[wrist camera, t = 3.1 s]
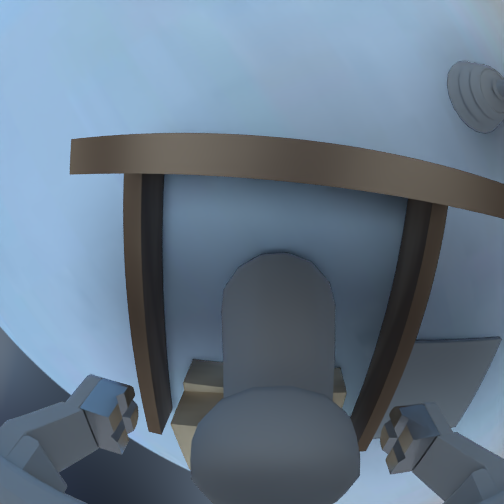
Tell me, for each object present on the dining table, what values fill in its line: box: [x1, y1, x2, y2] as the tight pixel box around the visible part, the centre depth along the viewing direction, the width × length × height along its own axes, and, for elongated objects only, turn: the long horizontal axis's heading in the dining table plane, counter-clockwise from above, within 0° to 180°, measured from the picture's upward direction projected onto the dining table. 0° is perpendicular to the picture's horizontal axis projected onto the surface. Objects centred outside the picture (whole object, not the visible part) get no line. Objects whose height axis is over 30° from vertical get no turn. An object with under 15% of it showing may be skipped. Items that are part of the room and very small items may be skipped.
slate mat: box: [373, 337, 502, 439], centre depth 19 cm, size 10×10×1 cm
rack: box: [70, 133, 504, 451], centre depth 14 cm, size 16×19×8 cm
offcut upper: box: [171, 391, 223, 470], centre depth 16 cm, size 9×5×3 cm, turn 95°
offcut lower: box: [183, 359, 347, 409], centre depth 19 cm, size 10×6×3 cm, turn 88°
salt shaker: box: [190, 253, 360, 504], centre depth 11 cm, size 6×6×13 cm
